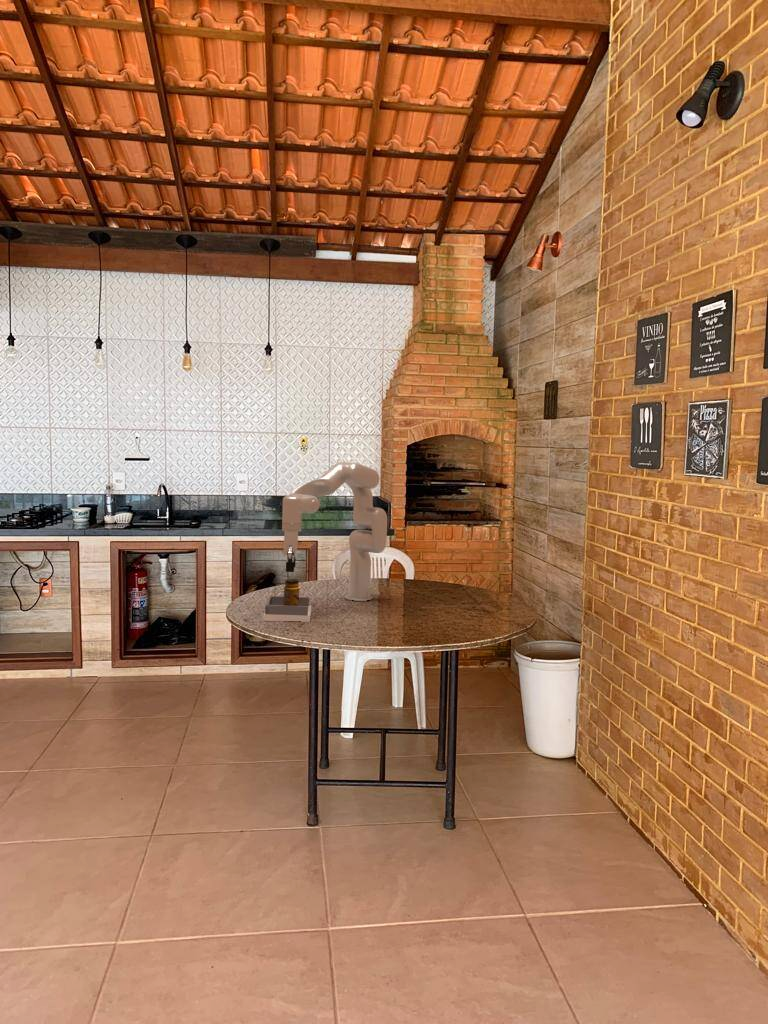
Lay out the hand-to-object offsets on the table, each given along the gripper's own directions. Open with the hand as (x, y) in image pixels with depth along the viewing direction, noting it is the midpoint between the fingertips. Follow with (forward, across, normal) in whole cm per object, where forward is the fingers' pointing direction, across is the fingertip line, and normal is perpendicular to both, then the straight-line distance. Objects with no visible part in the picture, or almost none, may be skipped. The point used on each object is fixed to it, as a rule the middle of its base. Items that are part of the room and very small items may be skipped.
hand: (290, 569), depth 278 cm
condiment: (+16, +1, 0) cm, 17 cm away
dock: (+19, +1, 0) cm, 19 cm away
